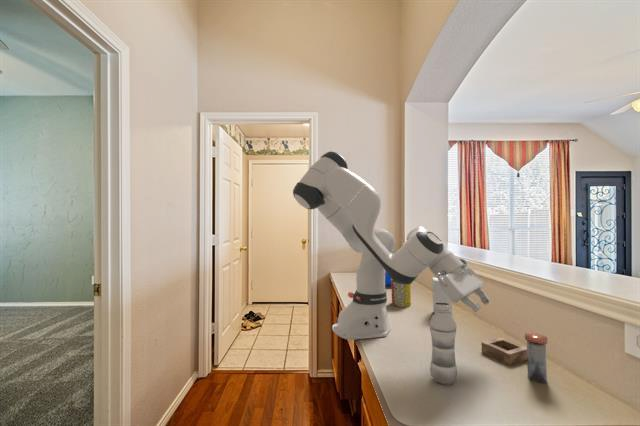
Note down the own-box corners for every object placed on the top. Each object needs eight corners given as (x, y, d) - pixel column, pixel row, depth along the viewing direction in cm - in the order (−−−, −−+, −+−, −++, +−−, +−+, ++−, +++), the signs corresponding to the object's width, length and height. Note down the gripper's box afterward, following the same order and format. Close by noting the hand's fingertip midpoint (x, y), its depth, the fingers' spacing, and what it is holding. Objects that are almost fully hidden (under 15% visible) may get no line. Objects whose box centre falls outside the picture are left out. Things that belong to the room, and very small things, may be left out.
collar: (510, 364, 83) (509, 354, 83) (481, 351, 91) (481, 342, 91) (530, 358, 86) (529, 348, 86) (501, 346, 94) (500, 337, 95)
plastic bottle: (425, 375, 78) (424, 300, 78) (449, 373, 79) (447, 300, 79) (437, 389, 72) (435, 308, 72) (463, 387, 72) (461, 307, 73)
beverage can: (390, 301, 147) (389, 277, 147) (407, 301, 147) (407, 277, 147) (394, 306, 138) (393, 281, 138) (413, 306, 138) (412, 281, 138)
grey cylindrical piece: (541, 385, 72) (540, 341, 73) (521, 376, 77) (520, 334, 77) (553, 381, 74) (551, 338, 75) (533, 372, 79) (532, 331, 79)
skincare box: (452, 318, 121) (451, 281, 122) (435, 317, 123) (434, 280, 123) (447, 311, 129) (446, 277, 130) (432, 311, 131) (431, 276, 131)
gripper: (442, 267, 82) (480, 308, 75) (466, 259, 97) (500, 293, 90) (427, 280, 86) (463, 322, 79) (453, 271, 100) (485, 305, 93)
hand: (483, 306), depth 84 cm, fingers open, 8 cm apart
